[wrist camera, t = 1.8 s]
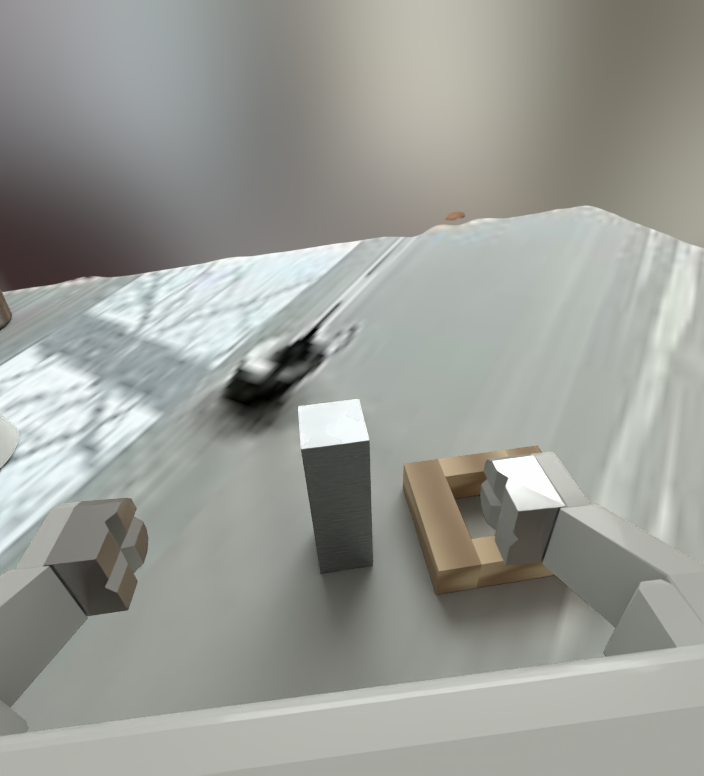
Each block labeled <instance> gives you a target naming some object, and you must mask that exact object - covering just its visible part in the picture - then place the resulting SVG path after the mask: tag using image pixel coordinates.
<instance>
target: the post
mask: <svg viewBox="0 0 704 776" xmlns="http://www.w3.org/2000/svg"><path fill="white" fill-rule="evenodd" d="M298 414H299V428H300V442H301V452H302V458H303V465H304V471H305V478H306V484H307V490H308V497H309V503H310V509H311V516H312V522H313V528H314V535H315V541H316V547H317V554H318V560H319V567H320V573H321V574H322V573H328V572H335V571H341V570H347V569H354V568H360V567H366V566H373V548H372V514H371V479H370V445H369V437H368V433H367V429H366V425H365V421H364V417H363V413H362V409H361V405H360V402H359V399H354V400H346V401H338V402H330V403H322V404H314V405H306V406H298Z"/></svg>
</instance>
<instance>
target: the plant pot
mask: <svg viewBox="0 0 704 776" xmlns="http://www.w3.org/2000/svg"><path fill="white" fill-rule="evenodd" d="M11 317H12V314H11V311H10V308H9V307H8V304H7V302H6V300H5V298H4V296H3V293H2V291H1V289H0V329H1V328H2V327H3V326H5V325H6V324H7V323H8V322H9V321H10V319H11Z"/></svg>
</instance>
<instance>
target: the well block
mask: <svg viewBox="0 0 704 776" xmlns="http://www.w3.org/2000/svg"><path fill="white" fill-rule="evenodd" d="M533 453H542V451H541V450H540V448H539V447H538V446H531V447H524V448H516V449H509V450H502V451H495V452H487V453H480V454H473V455H465V456H458V457H451V458H444V459H436V460H429V461H422V462H415V463H407V464H404V474H403V489H404V492H405V496H406V499H407V502H408V505H409V509H410V512H411V515H412V519H413V522H414V525H415V528H416V532H417V535H418V538H419V541H420V545H421V548H422V551H423V555H424V558H425V561H426V564H427V568H428V571H429V574H430V577H431V581H432V584H433V587H434V590H435V594H436V595H437V594H443V593H449V592H455V591H461V590H467V589H473V588H479V587H485V586H491V585H497V584H503V583H509V582H515V581H521V580H527V579H533V578H539V577H545V576H552V575H555V574H553V573H552V572H551V571H550V570H549V569H548V568H547V567H545V566H544V565H543V564H542V563H543V562H537V563H526V564H515V565H505V563H504V561H503V559H502V556H501V554H500V552H499V550H498V547H497V545H496V543H495V535H494V536H488V537H482V538H475V539H471V537H470V535H469V533H468V530H467V528H466V525H465V523H464V521H463V518H462V516H461V513H460V511H459V508H458V506H457V504H456V501H455V498H462V497H469V496H475V495H480V492H481V484H482V483H483V482H484V481H485V480H486V479H487V477H486V475H485V473H484V466H485V462H486V461H487V459H491V458H499V457H508V456H516V455H525V454H528V455H529V454H533Z"/></svg>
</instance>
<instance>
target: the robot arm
mask: <svg viewBox="0 0 704 776" xmlns="http://www.w3.org/2000/svg"><path fill="white" fill-rule="evenodd" d="M18 440H19V432H18V429H17V428H16V426H15V425H14V424H12V423H11V422H10V421H8V420H7V419H6V418H4V417H3V416H2V415H1V414H0V468H1V467H2V466H3V465H4V464H5V463H6V462H7V461H8V459H9V458H10V457H11V455H12V454H13V452H14V451H15V449H16V446H17V444H18ZM484 473H485V475H486V477H487V479H486V480H485V481H484V482H483V483H482V484H481V492H480V498H481V507H482V510H483V514H484V517H485V519H486V522H487V524H488V525H490V526H491V527H492V528H494V529H495V530H496V534H495V543H496V545H497V547H498V550H499V552H500V554H501V556H502V559H503V561H504V563H505V565H515V564H526V563H537V562H543V563H542V564H543V565H544V566H545V567H547V568H548V569H549V570H550V571H551V572H552V573H553V574H555V575H556V576H557V577H558V578H559V579H560V580H561V581H563V582H564V583H565V584H566V585H567V586H568V587H569V588H571V589H572V590H573V591H574V592H575V593H576V594H577V595H579V596H580V597H581V598H582V599H583V600H584V601H585V602H587V603H588V604H589V605H590V606H591V607H592V608H593V609H595V610H596V611H597V612H598V613H599V614H600V615H601V616H603V617H604V618H605V619H606V620H607V621H608V622H609V623H611V624H612V625H613V626H614V627H615V630H614V632H613V634H612V635H611V637H610V639H609V641H608V643H607V645H606V647H605V649H604V651H603V653H604V655H605V657H599V658H592V659H584V660H576V661H569V662H561V663H553V664H546V665H538V666H530V667H523V668H515V669H508V670H500V671H492V672H485V673H477V674H469V675H462V676H454V677H446V678H439V679H431V680H423V681H416V682H408V683H400V684H393V685H385V686H378V687H370V688H362V689H355V690H347V691H339V692H332V693H324V694H316V695H309V696H301V697H294V698H286V699H278V700H271V701H263V702H256V703H248V704H240V705H233V706H225V707H218V708H210V709H202V710H195V711H187V712H180V713H172V714H164V715H157V716H149V717H142V718H134V719H126V720H119V721H111V722H104V723H96V724H88V725H81V726H73V727H66V728H58V729H50V730H43V731H35V732H28V733H27V731H28V728H29V727H28V725H27V722H26V720H24V719H23V718H22V717H21V716H20V715H18V714H17V713H16V712H15V711H14V710H12V709H11V708H10V707H11V706H12V705H13V704H14V703H15V702H16V701H17V699H18V698H19V697H20V696H21V695H22V694H23V692H24V691H25V690H26V689H27V688H28V687H29V686H30V684H31V683H32V682H33V681H34V680H35V679H36V678H37V676H38V675H39V674H40V673H41V672H42V671H43V669H44V668H45V667H46V666H47V665H48V664H49V663H50V661H51V660H52V659H53V658H54V657H55V656H56V655H57V653H58V652H59V651H60V650H61V649H62V648H63V646H64V645H65V644H66V643H67V642H68V641H69V640H70V638H71V637H72V636H73V635H74V634H75V633H76V631H77V630H78V629H79V628H80V627H81V626H82V625H83V623H84V622H85V621H86V620H87V619H88V617H87V616H92V615H99V614H106V613H113V612H120V611H126V610H128V609H129V606H130V603H131V600H132V597H133V594H134V591H135V588H136V585H137V582H138V581H137V579H136V577H135V575H134V572H135V571H136V570H137V569H138V568H139V567H140V566H141V565H142V564H143V563H144V561H145V557H146V554H147V549H148V534H147V529H146V527H145V525H144V523H143V521H141V520H139V519H138V518H136V517H134V514H135V511H136V509H137V508H136V507H135V505H134V503H133V501H132V499H130V498H118V499H106V500H94V501H82V502H75V503H63V504H57V505H56V506H55V507H53V508H52V509H51V510H50V512H49V513H48V515H47V517H46V518H45V520H44V522H43V523H42V525H41V527H40V528H39V530H38V532H37V533H36V535H35V537H34V538H33V540H32V542H31V543H30V545H29V547H28V548H27V550H26V552H25V553H24V555H23V557H22V559H21V560H20V562H19V564H18V565H17V567H16V569H15V570H8V571H6V572H5V573H4V574H2V575H1V576H0V776H704V565H703V564H701V563H699V562H698V561H696V560H694V559H692V558H691V557H689V556H687V555H685V554H684V553H682V552H680V551H678V550H677V549H675V548H673V547H672V546H670V545H668V544H666V543H665V542H663V541H661V540H659V539H658V538H656V537H654V536H652V535H651V534H649V533H647V532H646V531H644V530H642V529H640V528H639V527H637V526H635V525H633V524H632V523H630V522H628V521H626V520H625V519H623V518H621V517H620V516H618V515H616V514H614V513H613V512H611V511H609V510H607V509H606V508H604V507H602V506H600V505H599V504H590V502H589V501H588V499H587V498H586V497H585V495H584V494H583V492H582V491H581V490H580V488H579V487H578V485H577V484H576V482H575V481H574V480H573V478H572V477H571V475H570V474H569V473H568V471H567V470H566V468H565V467H564V466H563V464H562V463H561V461H560V460H559V458H558V457H557V456H556V454H554V453H553V452H542V453H533V454H529V455H528V454H525V455H516V456H508V457H499V458H491V459H487V461H486V462H485V466H484Z"/></svg>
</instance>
